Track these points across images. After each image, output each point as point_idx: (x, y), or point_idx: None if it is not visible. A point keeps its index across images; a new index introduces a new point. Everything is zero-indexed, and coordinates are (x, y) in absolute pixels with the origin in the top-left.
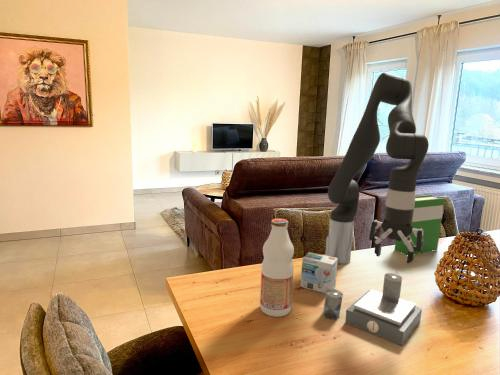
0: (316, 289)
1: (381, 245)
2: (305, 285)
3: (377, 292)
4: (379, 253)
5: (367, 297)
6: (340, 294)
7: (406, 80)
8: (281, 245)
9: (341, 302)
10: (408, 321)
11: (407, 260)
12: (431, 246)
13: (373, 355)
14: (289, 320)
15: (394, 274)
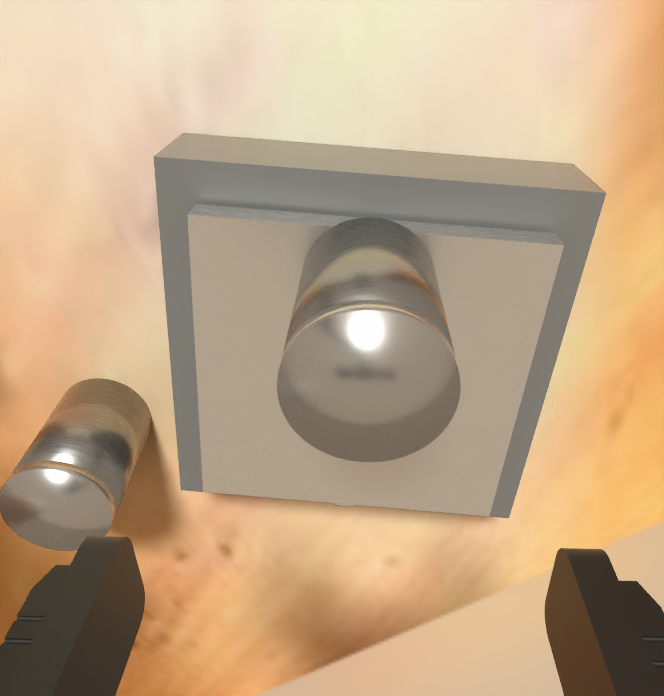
0: None
1: (60, 692)
2: None
3: (246, 244)
4: (125, 613)
5: (222, 366)
6: (92, 504)
7: None
8: None
9: (123, 469)
10: (522, 417)
11: (563, 664)
12: None
13: (399, 566)
14: (12, 546)
15: (364, 334)
